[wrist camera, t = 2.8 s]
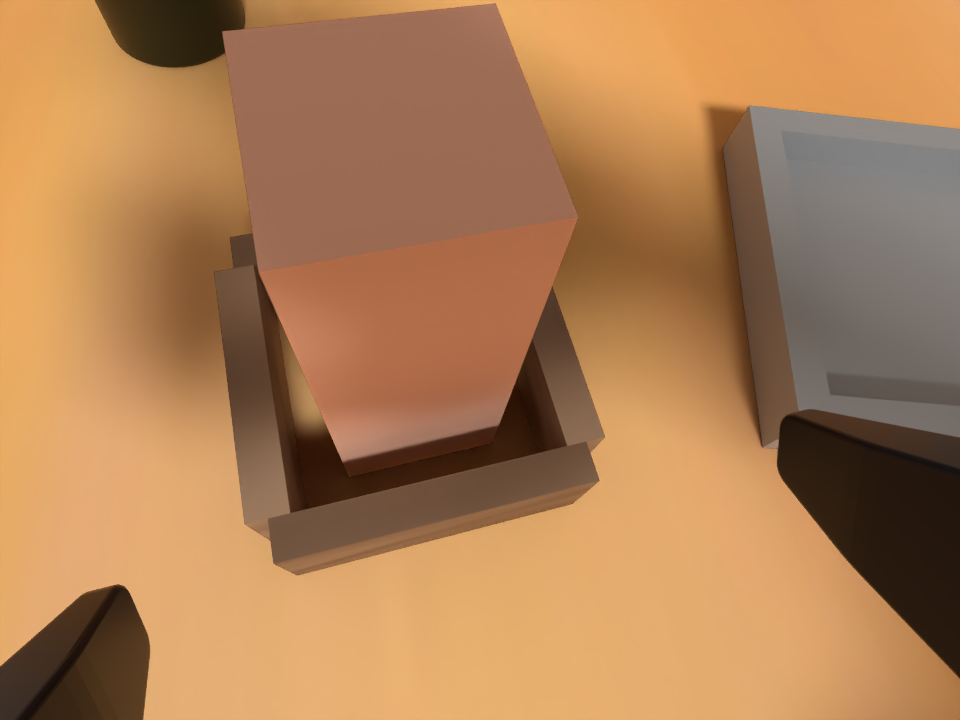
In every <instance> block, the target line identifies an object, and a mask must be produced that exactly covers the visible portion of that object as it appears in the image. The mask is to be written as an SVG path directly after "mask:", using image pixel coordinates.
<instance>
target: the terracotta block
mask: <svg viewBox="0 0 960 720" xmlns="http://www.w3.org/2000/svg"><path fill="white" fill-rule="evenodd" d="M222 33H223V40H224V46H225V53H226V60H227V66H228V73H229V79H230V86H231V93H232V99H233V106H234V113H235V119H236V126H237V132H238V139H239V146H240V152H241V159H242V165H243V172H244V179H245V185H246V192H247V199H248V205H249V212H250V218H251V225H252V232H253V238H254V245H255V251H256V258H257V265H258V271H259V274H260V276H261V279H262V281H263V283H264V285H265V288H266V290H267V292H268V294H269V297H270V299H271V301H272V303H273V306H274V308H275V310H276V313H277V315H278V317H279V319H280V322H281V324H282V326H283V328H284V331H285V333H286V335H287V337H288V340H289V342H290V344H291V347H292V349H293V351H294V353H295V356H296V358H297V360H298V362H299V365H300V367H301V369H302V371H303V374H304V376H305V378H306V380H307V383H308V385H309V387H310V390H311V392H312V394H313V396H314V399H315V401H316V403H317V405H318V408H319V410H320V412H321V414H322V417H323V419H324V421H325V424H326V426H327V428H328V430H329V433H330V435H331V437H332V439H333V442H334V444H335V446H336V448H337V451H338V453H339V455H340V457H341V460H342V462H343V464H344V467H345V469H346V471H347V473H348V476H349V477H350V476H354V475H359V474H363V473H367V472H371V471H375V470H380V469H384V468H388V467H392V466H397V465H401V464H405V463H409V462H414V461H418V460H422V459H426V458H431V457H435V456H439V455H443V454H448V453H452V452H456V451H460V450H465V449H469V448H473V447H477V446H482V445H486V444H490V443H492V442H493V439H494V437H495V434H496V431H497V429H498V426H499V424H500V421H501V418H502V416H503V413H504V411H505V408H506V405H507V403H508V400H509V398H510V395H511V392H512V390H513V387H514V385H515V382H516V379H517V377H518V374H519V371H520V369H521V366H522V364H523V361H524V358H525V356H526V353H527V351H528V348H529V345H530V343H531V340H532V338H533V335H534V332H535V330H536V327H537V325H538V322H539V319H540V317H541V314H542V311H543V309H544V306H545V304H546V301H547V298H548V296H549V293H550V291H551V288H552V285H553V283H554V280H555V278H556V275H557V272H558V270H559V267H560V265H561V262H562V259H563V257H564V254H565V252H566V249H567V246H568V244H569V241H570V238H571V236H572V233H573V231H574V228H575V225H576V223H577V220H578V218H579V217H578V214H577V212H576V209H575V206H574V204H573V201H572V199H571V196H570V194H569V191H568V188H567V186H566V183H565V181H564V178H563V176H562V173H561V170H560V168H559V165H558V163H557V160H556V158H555V155H554V152H553V150H552V147H551V145H550V142H549V139H548V137H547V134H546V132H545V129H544V127H543V124H542V121H541V119H540V116H539V114H538V111H537V109H536V106H535V103H534V101H533V98H532V96H531V93H530V91H529V88H528V85H527V83H526V80H525V78H524V75H523V72H522V70H521V67H520V65H519V62H518V60H517V57H516V54H515V52H514V49H513V47H512V44H511V42H510V39H509V36H508V34H507V31H506V29H505V26H504V24H503V21H502V18H501V16H500V13H499V11H498V8H497V5H496V3H495V4H485V5H476V6H466V7H456V8H446V9H436V10H427V11H417V12H407V13H397V14H388V15H378V16H368V17H358V18H348V19H339V20H329V21H319V22H309V23H299V24H290V25H280V26H270V27H260V28H251V29H241V30H231V31H222Z"/></svg>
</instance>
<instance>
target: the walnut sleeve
mask: <svg viewBox="0 0 960 720" xmlns="http://www.w3.org/2000/svg"><path fill="white" fill-rule="evenodd" d="M230 243H231V250H232V258H233V265H234V269H228V270H222V271H216V272H214V274H215V283H216V291H217V299H218V308H219V316H220V324H221V333H222V341H223V349H224V357H225V366H226V374H227V382H228V391H229V399H230V407H231V416H232V424H233V432H234V441H235V449H236V457H237V465H238V474H239V482H240V490H241V499H242V507H243V515H244V524H245V525H247V526H248V527H250V528H251V529H253V530H254V531H256V532H258V533H259V534H261V535H262V536H264V537H266V538H267V539H269V540H270V541H271V548H272V555H273V563H274V564H275V565H277V566H279V567H281V568H283V569H285V570H287V571H289V572H291V573H293V574H295V575H301V574H305V573H309V572H312V571H316V570H320V569H324V568H328V567H332V566H335V565H339V564H343V563H347V562H351V561H355V560H358V559H362V558H366V557H370V556H374V555H378V554H381V553H385V552H389V551H393V550H397V549H401V548H405V547H408V546H412V545H416V544H420V543H424V542H428V541H431V540H435V539H439V538H443V537H447V536H451V535H454V534H458V533H462V532H466V531H470V530H474V529H477V528H481V527H485V526H489V525H493V524H497V523H501V522H504V521H508V520H512V519H516V518H520V517H524V516H527V515H531V514H535V513H539V512H543V511H547V510H550V509H554V508H558V507H562V506H566V505H570V504H573V503H574V502H575V501H576V500H577V499H579V498H580V497H581V496H582V495H583V494H585V493H586V492H587V491H588V490H589V489H590V488H592V487H593V486H594V485H595V484H596V483H597V482H599V481H600V480H599V477H598V474H597V471H596V469H595V466H594V463H593V460H592V457H591V454H590V452H591V451H592V450H593V449H594V448H595V447H596V446H597V445H598V444H599V443H600V442H601V441H602V440H603V439H604V438H605V435H604V432H603V429H602V427H601V424H600V421H599V418H598V415H597V412H596V410H595V407H594V404H593V401H592V398H591V395H590V392H589V390H588V387H587V384H586V381H585V378H584V375H583V373H582V370H581V367H580V364H579V361H578V358H577V356H576V353H575V350H574V347H573V344H572V341H571V338H570V336H569V333H568V330H567V327H566V324H565V321H564V319H563V316H562V313H561V310H560V307H559V304H558V301H557V299H556V296H555V293H554V290H553V287H552V288H551V291H550V293H549V296H548V298H547V301H546V304H545V306H544V309H543V311H542V314H541V317H540V319H539V322H538V325H537V327H536V330H535V332H534V335H533V338H532V340H531V343H530V345H529V348H528V351H527V353H526V356H525V358H524V361H523V364H522V366H521V369H520V371H519V374H518V377H517V379H516V380H517V383H518V387H519V390H520V393H521V396H522V400H523V403H524V406H525V409H526V413H527V416H528V419H529V422H530V426H531V429H532V432H533V435H534V439H535V442H536V445H537V448H538V452H539V453H537V454H533V455H528V456H524V457H520V458H516V459H512V460H508V461H504V462H499V463H495V464H491V465H487V466H483V467H479V468H475V469H471V470H466V471H462V472H458V473H454V474H450V475H446V476H442V477H438V478H433V479H429V480H425V481H421V482H417V483H413V484H409V485H404V486H400V487H396V488H392V489H388V490H384V491H380V492H376V493H371V494H367V495H363V496H359V497H355V498H351V499H347V500H343V501H338V502H334V503H330V504H326V505H322V506H318V507H314V508H309V509H307V506H306V500H305V494H304V487H303V481H302V475H301V468H300V462H299V456H298V450H297V443H296V437H295V431H294V424H293V418H292V412H291V405H290V399H289V393H288V387H287V380H286V374H285V368H284V361H283V355H282V349H281V342H280V336H279V330H278V323H277V317H276V316H278V315H277V313H276V310H275V308H274V306H273V303H272V301H271V299H270V297H269V294H268V292H267V290H266V288H265V285H264V283H263V281H262V279H261V276H260V274H259V271H258V265H257V258H256V251H255V245H254V238H253V234H247V235H241V236H234V237H230Z"/></svg>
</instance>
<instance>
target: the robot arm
mask: <svg viewBox="0 0 960 720" xmlns="http://www.w3.org/2000/svg"><path fill="white" fill-rule="evenodd" d="M777 467H778V471H779V474H780V476H781V478H782V480H783V481H784V483H785V484H786V485H787V486H788V488H789V489H790V490H791V491H792V493H793V494H794V495H795V496H796V498H797V499H798V500H799V501H800V503H801V504H802V505H803V506H804V508H805V509H806V510H807V511H808V513H809V514H810V515H811V516H812V518H813V519H814V520H815V521H816V523H817V524H818V525H819V527H820V528H821V529H822V530H823V532H824V533H825V534H826V535H827V537H828V538H829V539H830V540H831V542H832V543H833V544H834V545H835V547H836V548H837V549H838V550H839V551H840V553H841V554H842V555H843V556H844V557H845V559H846V560H847V561H848V562H849V563H850V564H851V565H852V567H853V568H854V569H855V570H856V571H857V572H858V573H859V574H860V575H861V576H862V577H863V578H864V579H865V581H866V582H867V583H868V584H869V585H870V586H871V587H872V588H873V589H874V590H875V591H876V592H877V593H878V594H879V595H880V596H881V597H882V598H883V599H884V600H885V601H886V602H887V603H888V604H889V605H890V607H891V608H892V609H893V610H894V611H895V612H896V613H897V614H898V615H899V616H900V617H901V618H902V619H903V620H904V621H905V622H906V623H907V624H908V625H909V626H910V627H911V628H912V629H913V630H914V632H915V633H916V634H917V635H918V636H919V637H920V638H921V639H922V640H923V641H924V642H925V643H926V644H927V645H928V646H929V647H930V648H931V649H932V650H933V651H934V652H935V653H936V654H937V655H938V657H939V658H940V659H941V660H942V661H943V662H944V663H945V664H946V665H947V666H948V667H949V668H950V669H951V670H952V671H953V672H954V673H955V674H956V675H957V676H958V677H959V678H960V437H956V436H951V435H945V434H940V433H935V432H930V431H925V430H919V429H914V428H909V427H904V426H899V425H893V424H888V423H883V422H878V421H873V420H867V419H862V418H857V417H852V416H847V415H841V414H836V413H831V412H826V411H821V410H815V409H806V410H802V411H798V412H794V413H791V414H787V415H786V416H784V417H783V418H782V420H781V422H780V428H779V441H778V454H777ZM149 659H150V643H149V638H148V634H147V632H146V629H145V627H144V625H143V622H142V620H141V618H140V616H139V613H138V611H137V609H136V606H135V604H134V602H133V600H132V597H131V595H130V593H129V591H128V590H127V589H126V588H125V587H124V586H122V585H119V584H117V585H113V586H109V587H105V588H101V589H97V590H93V591H89V592H86V593H84V594H82V595H81V596H80V597H79V598H78V599H76V600H75V601H74V602H73V603H72V604H71V605H70V606H69V607H67V608H66V609H65V610H64V611H63V612H62V613H61V614H59V615H58V616H57V617H56V618H55V619H54V620H53V621H51V622H50V623H49V624H48V625H47V626H46V627H45V628H44V629H42V630H41V631H40V632H39V633H38V634H37V635H36V636H34V637H33V638H32V639H31V640H30V641H29V642H28V643H26V644H25V645H24V646H23V647H22V648H21V649H20V650H19V651H17V652H16V653H15V654H14V655H13V656H12V657H11V658H9V659H8V660H7V661H6V662H5V663H4V664H3V665H1V666H0V720H143V716H144V707H145V697H146V688H147V678H148V669H149Z"/></svg>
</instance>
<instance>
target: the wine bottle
mask: <svg viewBox="0 0 960 720" xmlns="http://www.w3.org/2000/svg"><path fill="white" fill-rule="evenodd" d="M95 2H96V4H97V6H98V8H99V10H100V12H101V14H102V16H103V18H104V19H105V21H106V23H107V25H108V27H109V29H110V31H111V33H112V35H113V37H114V39H115V41H116V42H117V44H118V45H119V46H120V47H121V48H122V49H123V50H124V51H125V52H126V53H128V54H129V55H130V56H132V57H134V58H136V59H138V60H140V61H142V62H145V63H148V64H152V65H156V66H162V67H186V66H192V65H197V64H201V63H204V62H207V61H209V60H212V59H214V58H216V57H218V56H220V55H221V54H223V53H224V52H225V46H224V40H223V33H222V31H231V30H241V29H243V28H244V23H245V14H244V10H243V6H242V3H241V0H95Z"/></svg>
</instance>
